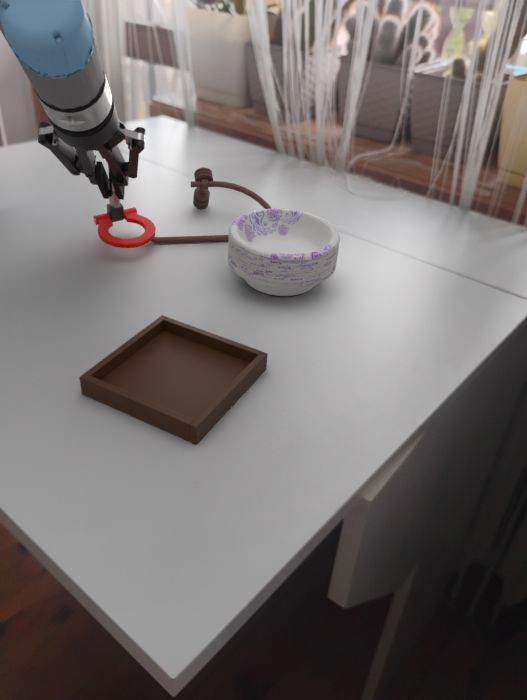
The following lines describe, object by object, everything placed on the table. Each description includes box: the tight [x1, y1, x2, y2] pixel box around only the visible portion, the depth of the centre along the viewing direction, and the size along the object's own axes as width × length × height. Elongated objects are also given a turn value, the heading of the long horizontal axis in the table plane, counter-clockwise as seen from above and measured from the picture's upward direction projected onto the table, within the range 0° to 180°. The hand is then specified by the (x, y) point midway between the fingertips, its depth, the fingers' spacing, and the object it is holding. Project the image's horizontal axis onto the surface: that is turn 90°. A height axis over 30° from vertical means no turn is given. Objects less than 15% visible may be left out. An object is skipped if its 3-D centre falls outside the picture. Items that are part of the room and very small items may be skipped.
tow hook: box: [92, 164, 157, 249], centre depth 90 cm, size 8×13×9 cm
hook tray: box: [79, 314, 268, 445], centre depth 69 cm, size 15×15×2 cm
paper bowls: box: [227, 207, 341, 297], centre depth 87 cm, size 15×15×8 cm
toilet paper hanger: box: [150, 167, 272, 245], centre depth 103 cm, size 22×8×14 cm
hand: (114, 190), depth 93 cm, fingers closed on tow hook, 1 cm apart
